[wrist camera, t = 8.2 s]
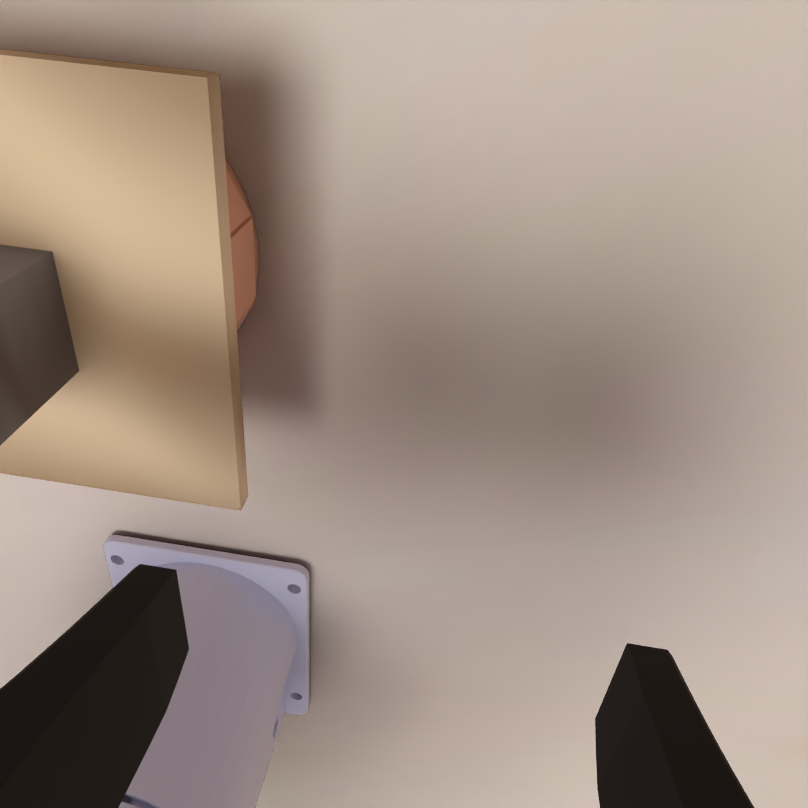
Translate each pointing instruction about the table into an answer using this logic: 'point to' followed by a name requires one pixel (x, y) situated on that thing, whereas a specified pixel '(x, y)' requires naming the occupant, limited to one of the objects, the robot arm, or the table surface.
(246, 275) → the bowl
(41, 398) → the lid
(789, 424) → the table surface
